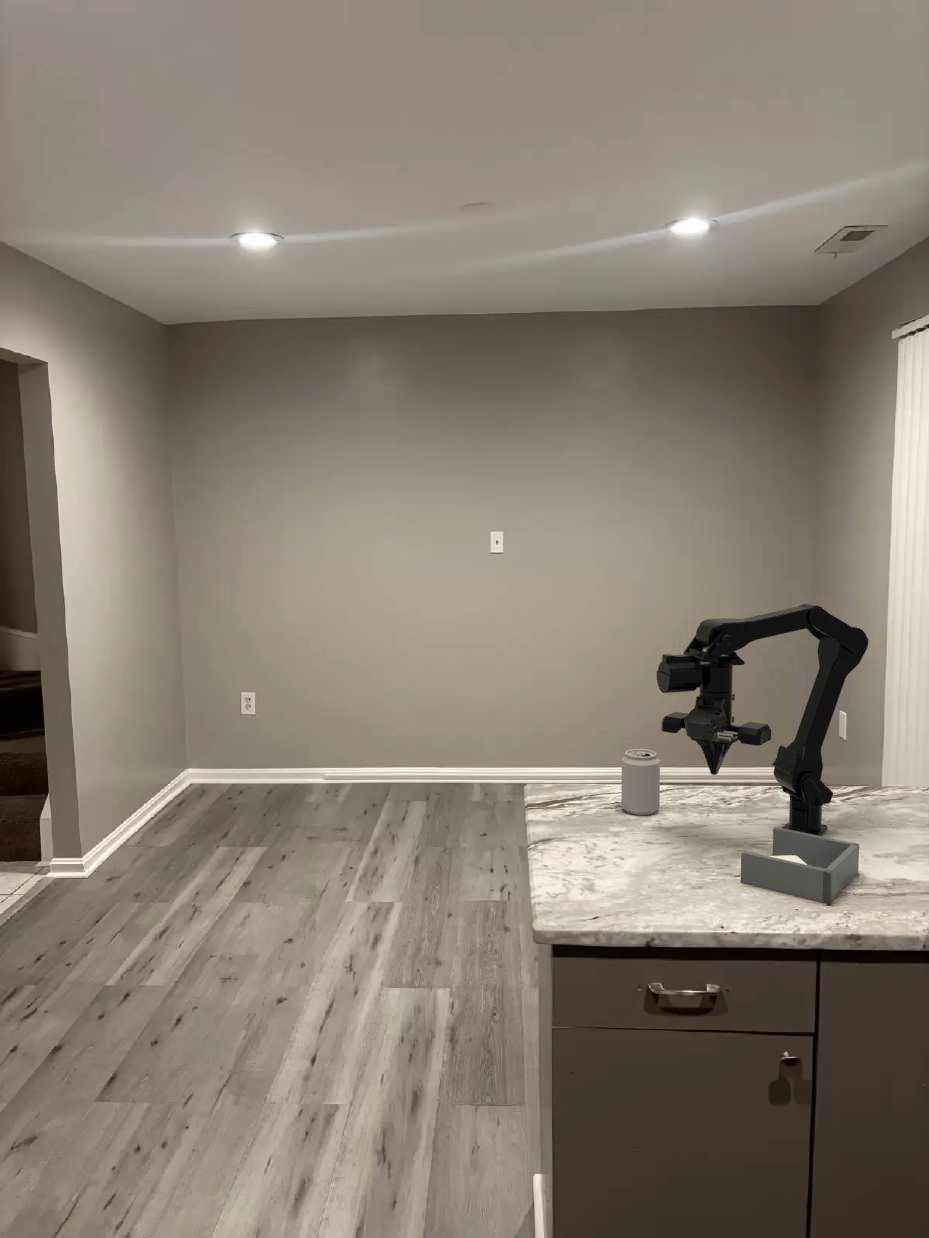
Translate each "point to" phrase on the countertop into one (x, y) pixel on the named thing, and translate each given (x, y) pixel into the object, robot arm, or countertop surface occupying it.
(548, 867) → the countertop surface
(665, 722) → the robot arm
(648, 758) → the can
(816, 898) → the box
